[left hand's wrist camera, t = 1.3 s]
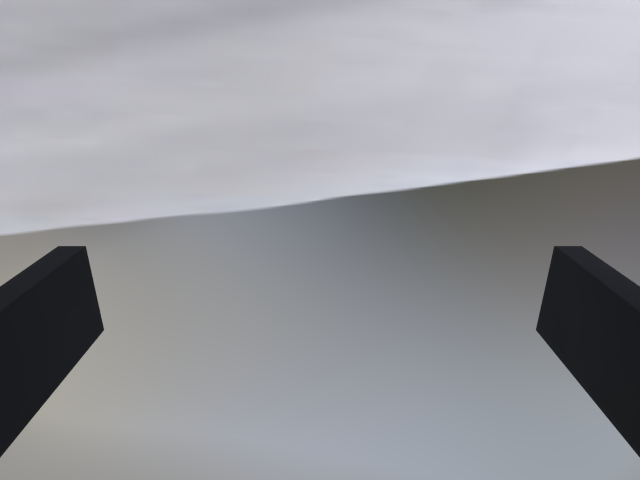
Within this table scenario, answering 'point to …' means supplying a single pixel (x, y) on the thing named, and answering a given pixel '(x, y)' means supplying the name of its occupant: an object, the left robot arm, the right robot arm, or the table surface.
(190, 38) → the table surface
